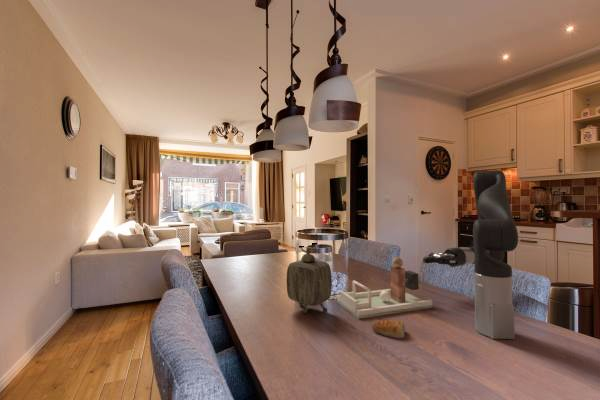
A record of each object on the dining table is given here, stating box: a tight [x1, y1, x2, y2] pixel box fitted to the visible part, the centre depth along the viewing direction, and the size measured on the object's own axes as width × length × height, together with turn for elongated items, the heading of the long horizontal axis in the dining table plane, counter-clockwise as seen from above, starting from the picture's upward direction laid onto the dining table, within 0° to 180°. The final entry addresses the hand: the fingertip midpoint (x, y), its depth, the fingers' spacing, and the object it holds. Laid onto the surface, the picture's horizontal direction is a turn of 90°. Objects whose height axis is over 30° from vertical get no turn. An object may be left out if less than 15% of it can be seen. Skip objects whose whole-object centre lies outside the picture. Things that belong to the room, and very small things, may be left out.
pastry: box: [371, 319, 406, 339], centre depth 86 cm, size 9×7×4 cm
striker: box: [389, 256, 420, 302], centre depth 111 cm, size 10×5×16 cm, turn 107°
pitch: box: [336, 288, 433, 320], centre depth 108 cm, size 30×17×2 cm, turn 107°
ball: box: [380, 291, 391, 302], centre depth 109 cm, size 4×4×4 cm
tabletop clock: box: [286, 244, 333, 314], centre depth 103 cm, size 14×9×25 cm, turn 51°
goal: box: [338, 280, 372, 313], centre depth 105 cm, size 7×13×8 cm, turn 17°
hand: (424, 260), depth 114 cm, fingers closed
